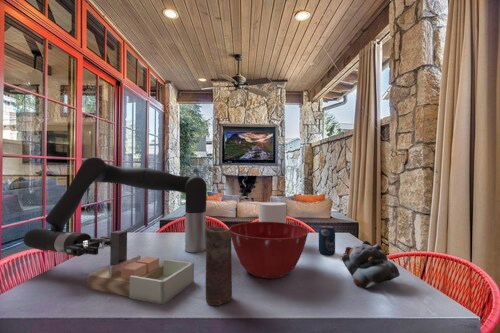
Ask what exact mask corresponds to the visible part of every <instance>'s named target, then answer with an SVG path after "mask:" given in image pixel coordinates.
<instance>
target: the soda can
mask: <svg viewBox="0 0 500 333" xmlns="http://www.w3.org/2000/svg"><path fill="white" fill-rule="evenodd" d="M318 253H319V254H320V256H321V255H322V256H325V257H332V256H334V255H335V254H336V230H335V227H334V226H333V225H330V224H329V225H328V224H322V225H319V229H318Z"/></svg>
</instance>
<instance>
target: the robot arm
mask: <svg viewBox="0 0 500 333" xmlns="http://www.w3.org/2000/svg"><path fill="white" fill-rule="evenodd" d="M94 182H95V183H108V184H109V183H111V184H120V185H125V186H127V187H128V186H129V187H133V188H138V189H144V190H150V191H162V192H163V191H164V192H165V191H168V192H169V191H170V192H171V191H173V192H179V193H182V194H185V207H184V210H185V213H184V214H185V218H184V219H185V222H184V223H185V224H184V227H185V228H184V232H185V234H184V243H185V244H184V251H185V252H187V253H201V252H205V251H206V228H207V199H208V198H207V197H208V195H207V194H208V187H207V186H208V185H207V183H206V181H205V180H204V179H203V178H202V177H200V176H187V175H186V176H185V175H177V174H174V173H173V174H172V173H170V172H167V171H163V170H158V169H155V168H149V167H137V166H134V167H123V166H122V167H121V166H116V165H113V164H109V163H107V162H105V161H104V160H103V158H101V157H98V156H90V157H88V158H86V159H85V160H84V161H83V162H82V163H81V165H80V167H79V168H78V170H77V173H76V174H75V176H74V178H73V179H72V181H71V182H70V184H69V186H68V188H67V189H66V190H65V191H64V193H63V195H62V196H61V197H60V199H59V200H58V201H57V203H56V204H55V205H54V206H53V207H52V209H51V210H50V211H49V212H48V214H47V216H46V217H45V219H44V220H45V222H46V223H48V224H49V225H50V229H48V228H45V227H44V228H43V227H34V228H31V229H30V230H28V231H26V233H25V234H24V235H23V239H22V241H23V243H24V245H25V246H26V247H28V248H32V249H34V250H38V251H39V250H40V251H43V252H48V251H51V252H55V253H61V254H65V255H67V256H73V257H81V256H86V255H92V256H94V255H95V256H97V255H99V250H103V249H105V248H110V247H111V236H101V237H100V238H96V237H92V236H91V235H90V234H89V233H87V232H86V233H85V232H76V231H74V232H73V231H64V229H65V227H66V225H67V223H68V222H69V221H70V219H71V218H72V216H73V215H74V214H75V212H76V211H77V209H78V207H79V206H80V204H81V202H82V199H83V197H84V195H85V193H86V192H87V190H88V189H89V187H90V186H91V185H92V184H93V183H94Z"/></svg>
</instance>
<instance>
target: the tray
mask: <svg viewBox="0 0 500 333" xmlns="http://www.w3.org/2000/svg"><path fill="white" fill-rule="evenodd" d="M194 264H195V263H194V262H188V261H183V260H176V259H175V260H174V259H166V258H164V259H163V260H162V266H163V276H161V277H160V278H158V279H150V278H144V277H138V276H130V296H128V297H129V299H133V300H137V301H143V302H147V303H153V304H158V305H165V304H166V303H167V302H168V301H170V300H171V299H173V297H175V296H176V295H178V294H180V293H181V292H182V291H183V290H184V289H186V288H187V287H188V286H190V285H191V284H192V283H194V281H195V276H194V275H195V272H194V271H195V270H194V269H195V265H194Z"/></svg>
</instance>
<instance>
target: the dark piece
mask: <svg viewBox="0 0 500 333" xmlns="http://www.w3.org/2000/svg"><path fill="white" fill-rule="evenodd" d="M110 237H111V247H109V248H110V257H109V258H110V261H109V262H110V263H109V266H110V267H109V277H113V276H115V275H118V274H120V273H121V268H122V267H124V266H126V265H128V264H131V263H133V262H135V263H136V261H138V260H140V259H142V257H141V254H137V255H134V256H132V257H129V258H128V231H127V230H121V229H120V230H115V231H111V232H110Z"/></svg>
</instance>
